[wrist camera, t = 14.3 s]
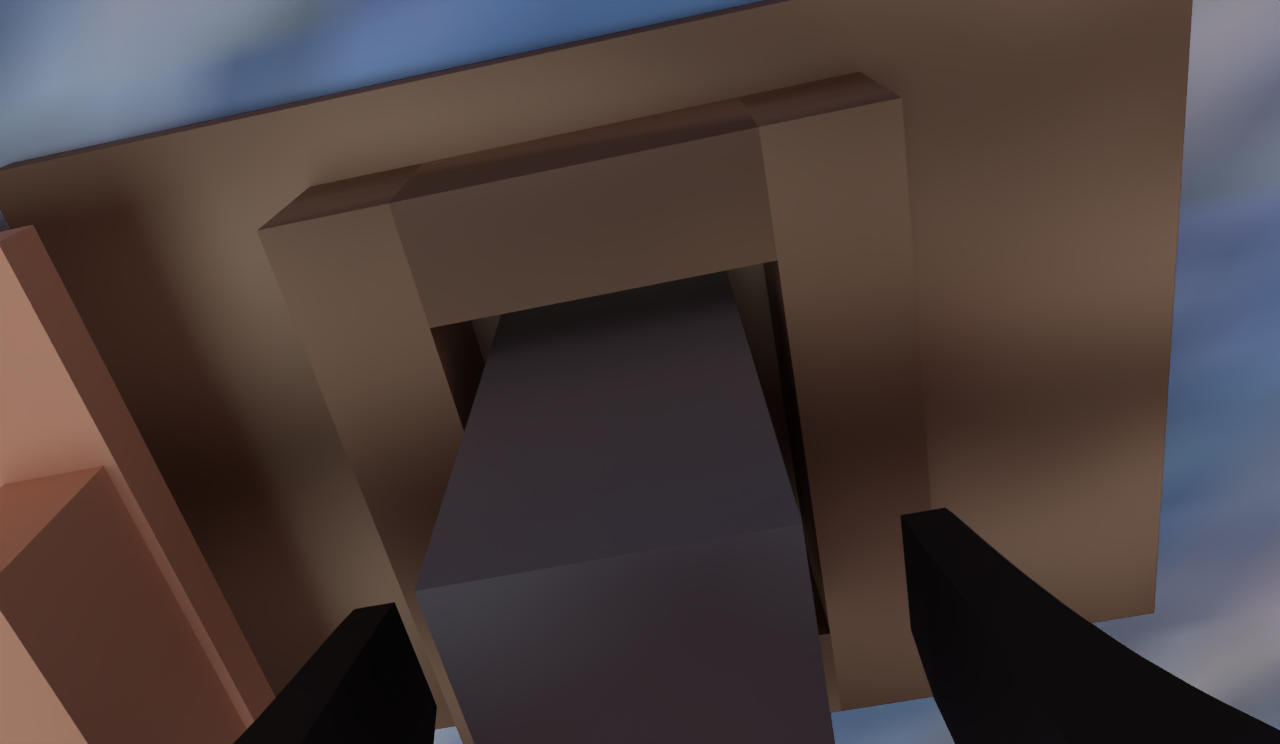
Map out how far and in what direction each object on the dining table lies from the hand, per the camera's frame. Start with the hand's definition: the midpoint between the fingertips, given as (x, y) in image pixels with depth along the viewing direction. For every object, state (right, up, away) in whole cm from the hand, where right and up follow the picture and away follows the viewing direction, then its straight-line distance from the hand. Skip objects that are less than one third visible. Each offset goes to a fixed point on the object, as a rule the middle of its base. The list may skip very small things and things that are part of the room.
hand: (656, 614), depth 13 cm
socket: (0, +3, +6) cm, 6 cm away
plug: (0, +2, +5) cm, 5 cm away
